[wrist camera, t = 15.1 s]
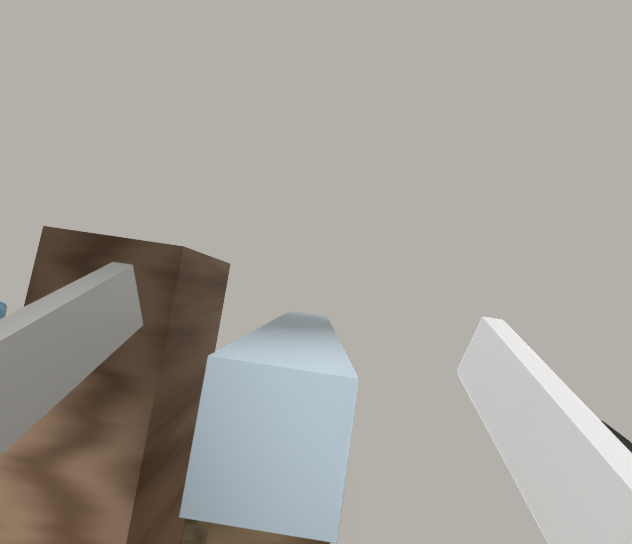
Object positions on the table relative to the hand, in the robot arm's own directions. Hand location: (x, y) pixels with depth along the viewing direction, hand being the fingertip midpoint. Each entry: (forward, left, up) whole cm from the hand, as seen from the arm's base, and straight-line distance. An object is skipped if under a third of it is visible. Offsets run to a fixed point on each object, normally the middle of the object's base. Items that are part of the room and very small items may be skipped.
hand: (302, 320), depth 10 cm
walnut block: (-14, +13, -27) cm, 33 cm away
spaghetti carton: (0, +8, -5) cm, 9 cm away
